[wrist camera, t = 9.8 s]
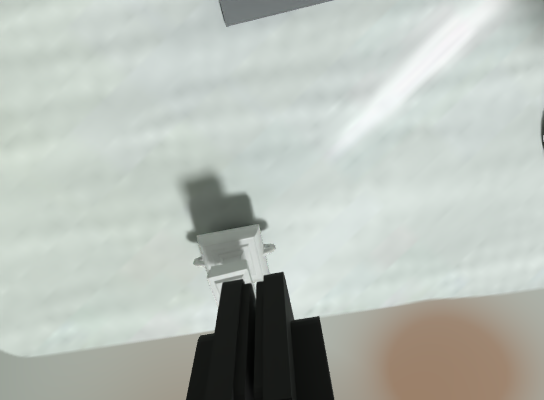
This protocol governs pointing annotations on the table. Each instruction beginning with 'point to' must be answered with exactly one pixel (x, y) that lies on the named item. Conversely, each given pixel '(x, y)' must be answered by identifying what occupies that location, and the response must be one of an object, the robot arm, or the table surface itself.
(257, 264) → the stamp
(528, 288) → the table surface
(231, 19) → the mat
